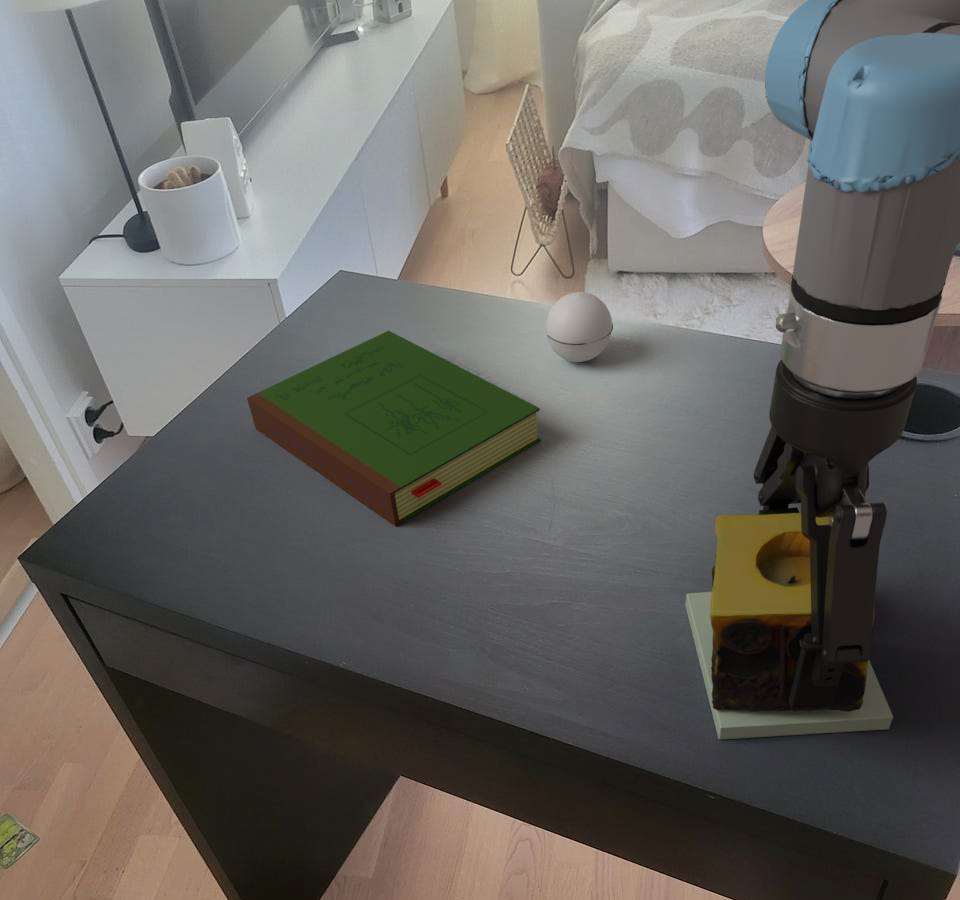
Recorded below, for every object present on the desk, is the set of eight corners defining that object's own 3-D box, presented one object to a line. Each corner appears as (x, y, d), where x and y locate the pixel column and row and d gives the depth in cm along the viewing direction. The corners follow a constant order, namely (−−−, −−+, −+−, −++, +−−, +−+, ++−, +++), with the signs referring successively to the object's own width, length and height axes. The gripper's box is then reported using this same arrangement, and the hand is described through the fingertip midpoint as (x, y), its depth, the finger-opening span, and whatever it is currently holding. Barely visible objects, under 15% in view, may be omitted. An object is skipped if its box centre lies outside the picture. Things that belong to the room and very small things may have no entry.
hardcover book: (255, 428, 101) (246, 397, 98) (393, 360, 109) (388, 330, 106) (400, 529, 87) (394, 497, 84) (546, 443, 95) (545, 410, 92)
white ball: (532, 361, 107) (529, 299, 101) (575, 335, 110) (575, 273, 105) (600, 390, 101) (601, 326, 96) (644, 362, 105) (647, 298, 99)
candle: (711, 713, 68) (705, 619, 60) (715, 609, 74) (710, 512, 67) (865, 715, 65) (877, 617, 58) (855, 607, 71) (865, 506, 64)
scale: (840, 582, 78) (847, 554, 76) (902, 728, 67) (913, 701, 65) (682, 593, 78) (684, 566, 76) (718, 740, 68) (723, 713, 65)
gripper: (734, 275, 61) (703, 535, 77) (841, 502, 44) (774, 777, 60) (851, 265, 61) (797, 528, 76) (1004, 491, 44) (894, 770, 60)
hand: (787, 638), depth 68 cm, fingers open, 12 cm apart
